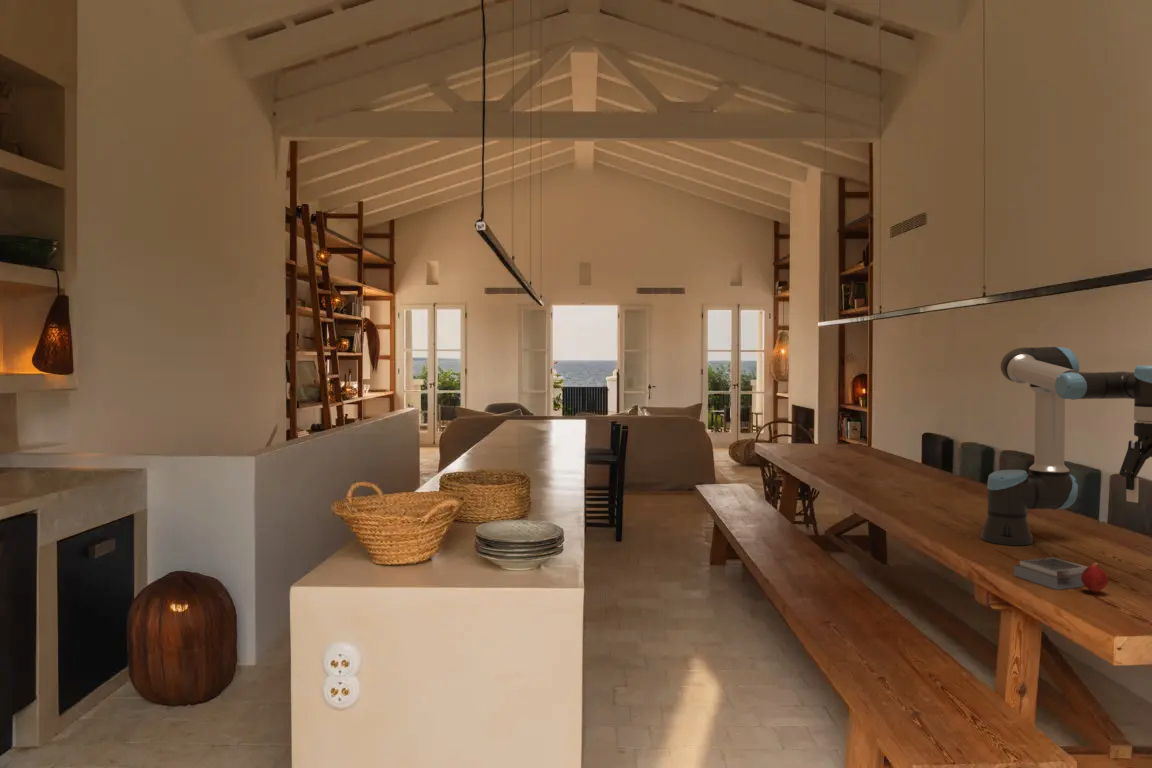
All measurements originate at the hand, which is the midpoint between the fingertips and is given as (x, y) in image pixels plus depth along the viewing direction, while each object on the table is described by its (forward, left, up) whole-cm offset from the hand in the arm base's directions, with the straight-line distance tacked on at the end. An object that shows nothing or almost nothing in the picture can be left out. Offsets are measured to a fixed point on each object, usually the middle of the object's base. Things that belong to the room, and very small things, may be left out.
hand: (1150, 500), depth 214 cm
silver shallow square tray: (-11, -21, -23) cm, 33 cm away
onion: (+1, -21, -23) cm, 31 cm away
